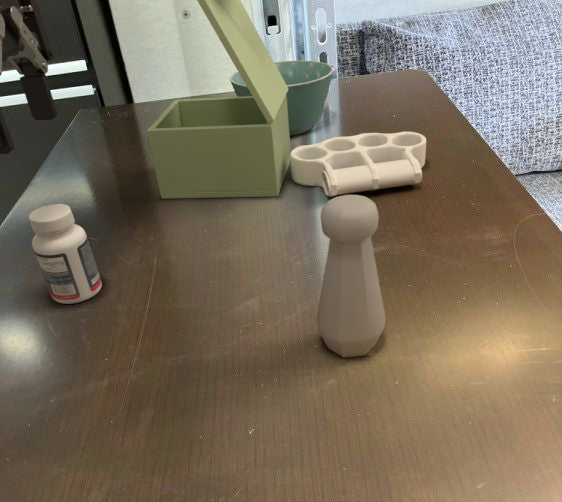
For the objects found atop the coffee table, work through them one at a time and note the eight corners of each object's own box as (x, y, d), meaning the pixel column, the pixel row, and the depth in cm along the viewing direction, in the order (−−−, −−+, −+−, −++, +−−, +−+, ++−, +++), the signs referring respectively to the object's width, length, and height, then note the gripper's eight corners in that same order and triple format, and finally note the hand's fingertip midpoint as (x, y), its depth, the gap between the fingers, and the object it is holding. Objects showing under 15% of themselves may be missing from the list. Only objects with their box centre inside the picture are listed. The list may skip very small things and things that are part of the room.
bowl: (241, 115, 106) (234, 63, 101) (333, 108, 105) (332, 55, 100) (232, 148, 94) (224, 90, 89) (336, 141, 93) (334, 82, 88)
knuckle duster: (304, 207, 76) (285, 164, 87) (446, 186, 77) (410, 147, 88) (302, 180, 74) (283, 140, 85) (449, 160, 75) (411, 122, 86)
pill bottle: (89, 273, 68) (64, 195, 62) (111, 290, 65) (87, 210, 59) (43, 292, 65) (13, 213, 60) (64, 311, 62) (34, 229, 57)
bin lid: (186, -18, 65) (228, -49, 63) (214, -35, 75) (251, -62, 73) (268, 123, 74) (307, 100, 71) (283, 92, 83) (319, 71, 81)
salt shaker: (306, 337, 55) (295, 198, 47) (360, 316, 57) (359, 179, 49) (340, 372, 51) (335, 226, 43) (398, 348, 53) (404, 204, 45)
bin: (161, 198, 82) (146, 130, 76) (186, 162, 91) (174, 99, 86) (278, 196, 79) (271, 126, 74) (291, 159, 89) (286, 94, 83)
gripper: (-47, -95, 51) (23, 111, 61) (-168, -81, 40) (-58, 167, 50) (38, -106, 49) (95, 107, 60) (-64, -94, 39) (27, 164, 49)
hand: (25, 134), depth 55 cm, fingers open, 8 cm apart
